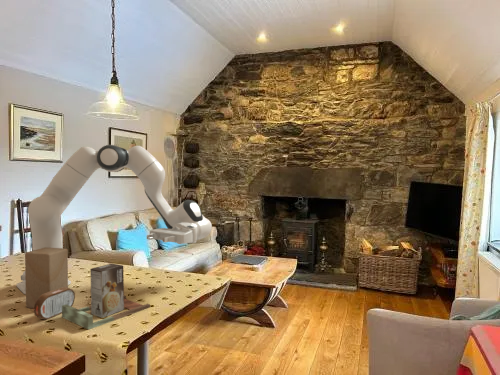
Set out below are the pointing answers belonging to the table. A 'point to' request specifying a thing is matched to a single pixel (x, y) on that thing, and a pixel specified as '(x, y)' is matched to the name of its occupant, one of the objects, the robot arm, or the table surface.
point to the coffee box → (107, 290)
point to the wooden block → (45, 272)
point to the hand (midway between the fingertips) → (155, 238)
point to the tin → (53, 302)
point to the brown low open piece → (87, 320)
